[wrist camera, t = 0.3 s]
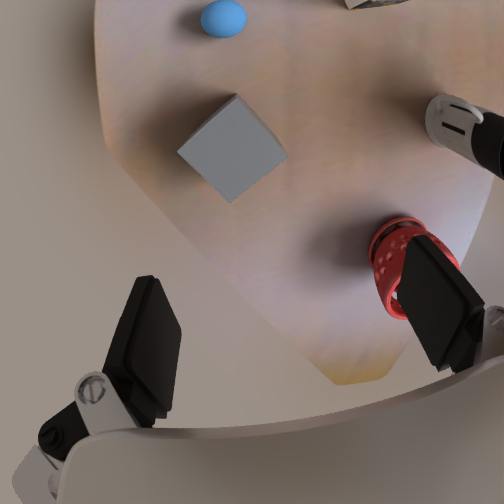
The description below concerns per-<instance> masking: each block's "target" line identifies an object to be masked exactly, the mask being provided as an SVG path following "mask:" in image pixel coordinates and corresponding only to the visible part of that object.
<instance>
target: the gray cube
mask: <svg viewBox="0 0 504 504" xmlns="http://www.w3.org/2000/svg"><path fill="white" fill-rule="evenodd" d="M177 153H178V154H179V155H180V156H182V157H183V158H184V159H185V160H186V161H187V162H188V163H189V164H190V165H191V166H192V167H193V168H194V169H195V170H196V171H197V172H198V173H199V174H200V175H201V176H202V177H203V178H204V179H205V180H206V181H207V182H208V183H209V184H210V185H212V186H213V187H214V188H215V189H216V190H217V191H218V192H219V193H220V194H221V195H222V196H223V197H224V198H225V199H226V200H227V201H228V202H229V203H231V202H232V201H234V200H235V199H236V198H237V197H238V196H240V195H241V194H242V193H243V192H245V191H246V190H247V189H248V188H250V187H251V186H252V185H253V184H255V183H256V182H257V181H258V180H260V179H261V178H262V177H264V176H265V175H266V174H267V173H269V172H270V171H271V170H272V169H274V168H275V167H276V166H278V165H279V164H280V163H282V162H283V161H284V160H285V159H287V158H288V155H287V153H286V152H285V150H284V148H283V147H282V145H281V143H280V142H279V140H278V138H277V137H276V136H275V135H274V134H273V132H272V131H271V130H270V129H269V128H268V127H267V126H266V125H265V123H264V122H263V121H262V120H261V119H260V118H259V117H258V116H257V114H256V113H255V112H254V111H253V110H252V109H251V108H250V107H249V106H248V105H247V104H246V103H245V101H244V100H243V99H242V98H241V97H240V96H239V95H238V94H236V95H234V96H233V97H232V98H231V99H230V100H228V101H227V102H226V103H225V104H224V105H222V106H221V107H220V108H219V109H218V110H217V111H216V112H214V113H213V114H212V115H211V116H210V117H209V118H208V119H207V120H205V121H204V122H203V123H202V124H201V125H200V126H199V127H198V128H197V129H196V130H195V131H193V132H192V133H191V134H190V136H189V137H188V138H187V139H186V141H185V142H184V143H183V144H182V146H181V147H180V148H179V149H178V151H177Z"/></svg>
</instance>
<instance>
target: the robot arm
mask: <svg viewBox="0 0 504 504" xmlns="http://www.w3.org/2000/svg"><path fill="white" fill-rule="evenodd" d="M397 300H398V302H399V304H400V306H401V308H402V309H403V311H404V313H405V315H406V317H407V318H408V320H409V322H410V324H411V326H412V327H413V329H414V331H415V333H416V335H417V337H418V338H419V341H420V342H421V344H422V346H423V348H424V350H425V352H426V354H427V356H428V358H429V360H430V362H431V364H432V365H433V366H436V368H437V370H438V372H440V371H442V370H445V369H447V368H449V367H451V369H452V374H451V376H450V377H447V378H444V379H442V380H440V381H437V382H434V383H432V384H429V385H427V386H424V387H421V388H418V389H416V390H413V391H410V392H407V393H404V394H401V395H398V396H395V397H392V398H389V399H385V400H382V401H378V402H375V403H371V404H368V405H364V406H360V407H356V408H352V409H348V410H344V411H339V412H335V413H330V414H325V415H320V416H315V417H309V418H304V419H297V420H291V421H284V422H277V423H269V424H260V425H249V426H236V427H220V428H155V426H154V424H155V418H159V419H160V418H161V419H166V418H167V411H170V410H171V408H172V400H173V393H174V385H175V377H176V369H177V362H178V356H179V349H180V342H181V335H182V334H181V328H180V325H179V323H178V321H177V319H176V317H175V315H174V313H173V310H172V308H171V306H170V304H169V302H168V299H167V297H166V295H165V292H164V290H163V288H162V285H161V283H160V281H159V279H157V278H154V276H152V275H148V276H141V277H137V278H136V280H135V283H134V286H133V288H132V290H131V293H130V295H129V298H128V300H127V303H126V306H125V308H124V311H123V313H122V316H121V317H120V320H119V322H118V325H117V328H116V331H115V334H114V336H113V339H112V342H111V345H110V348H109V351H108V354H107V357H106V361H105V364H104V367H103V370H102V372H97V371H95V372H91V373H88V374H86V375H85V376H84V377H82V378H81V379H80V380H79V382H78V383H77V385H76V387H75V391H74V396H75V401H74V402H72V403H71V404H70V405H68V406H67V407H66V408H64V409H63V410H61V411H60V412H59V413H57V414H56V415H55V416H53V417H52V418H51V419H49V420H48V421H46V422H45V423H44V424H43V425H42V427H41V429H40V431H39V434H38V442H39V445H38V446H37V445H34V446H33V447H32V449H31V450H30V451H29V453H28V454H27V455H26V457H25V458H24V460H23V461H22V462H21V464H20V465H19V466H18V468H17V469H16V471H15V472H14V474H13V476H12V485H13V488H14V490H15V492H16V494H17V495H18V497H19V498H20V499H21V501H22V502H23V504H504V308H503V307H501V306H496V305H494V306H490V307H488V308H487V309H486V311H485V310H484V308H483V306H484V304H485V303H484V301H483V300H482V299H481V297H480V296H479V295H478V293H477V292H476V291H475V290H474V288H473V287H472V286H471V285H470V283H469V282H468V281H467V280H466V278H465V277H464V276H463V275H462V273H460V271H459V270H458V269H457V268H456V266H455V265H454V264H453V263H452V262H451V261H450V260H449V258H448V257H447V256H446V255H445V254H444V253H443V252H442V251H441V250H440V248H439V247H438V246H437V245H436V244H435V243H434V242H433V241H432V240H431V239H430V238H429V237H428V236H427V235H425V234H423V235H417V236H413V237H412V238H411V240H410V241H408V243H407V248H406V254H405V259H404V264H403V269H402V273H401V278H400V283H399V287H398V291H397Z"/></svg>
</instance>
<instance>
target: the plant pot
mask: <svg viewBox="0 0 504 504" xmlns="http://www.w3.org/2000/svg"><path fill="white" fill-rule="evenodd" d="M423 234H425V235H427V236H428V237H429V238H430V239H431V240H432V241H433V242H434V243H435V244H436V245H437V246H438V247H439V248H440V250H441V251H442V252H443V253H444V254H445V255H446V256H447V257H448V258H449V260H450V261H451V262H452V263H453V264H454V265H455V266H456V268H457V269H458V270H459V265H458V262H457V260H456V258H455V257H454V255H453V254H452V253H451V251H450V250H449V249H448V248H447V247H446V246H445V245H444V244H443V243H442V242H441V241H440V240H439V239H438V238H437V237H436V236H434V235H433V234H431V233H430V232H428V231H427V229H426V227H425V226H424V224H423V223H422V222H421V221H419V220H417V219H415V218H412V217H400V218H396V219H393V220H391V221H389V222H387V223H386V224H385V225H383V226H382V227H381V228H380V229H379V230H378V231H377V233H376V234H375V235H374V237H373V239H372V241H371V243H370V246H369V251H368V258H369V262H370V265H371V267H372V268H373V269H374V278H375V283H376V287H377V290H378V293H379V296H380V298H381V301H382V303H383V305H384V307H385V309H386V311H387V312H388V313H389V314H390V315H391V316H392V317H394V318H397V319H403V320H406V319H408V318H407V317H406V315H405V313H404V311H403V309H402V308H401V307H400V304H399V302H398V300H396V299H394V298H393V297H392V293H393V291H395V292H396V293H397V291H398V287H399V283H400V278H401V273H402V269H403V264H404V259H405V254H406V248H407V243H408V241H410V240H411V238H412V237H413V236H417V235H423Z"/></svg>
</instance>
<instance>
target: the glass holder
mask: <svg viewBox="0 0 504 504" xmlns="http://www.w3.org/2000/svg"><path fill="white" fill-rule="evenodd" d="M425 126H426V131H427V134H428V136H429V138H430V139H431V140H432V142H433V143H434V144H436V145H437V146H439V147H442V148H449V149H451V150H452V151H454V152H456V153H458V154H460V155H461V156H463V157H465V158H467V159H468V160H470V161H472V162H474V163H475V164H477V165H479V166H480V167H482V168H483V169H487V170H489V171H491V172H492V173H494V174H495V175H497V176H498V177H500V178H501V179H503V180H504V117H502V116H500V115H499V114H497V113H495V112H492V111H490V110H487V109H484V108H481V107H478V106H475V105H472V104H470V103H468V102H467V101H465V100H463V99H461V98H459V97H456V96H453V95H448V94H440V95H438V96H436V97H434V98H433V99H432V100H431V102H430V103H429V105H428V107H427V110H426V114H425Z"/></svg>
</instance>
